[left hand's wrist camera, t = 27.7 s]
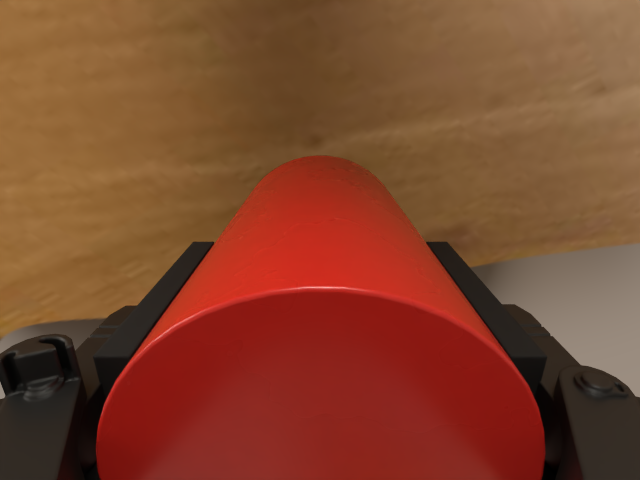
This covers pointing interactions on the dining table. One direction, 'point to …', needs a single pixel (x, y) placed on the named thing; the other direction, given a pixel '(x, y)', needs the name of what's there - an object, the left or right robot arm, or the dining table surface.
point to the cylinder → (320, 354)
